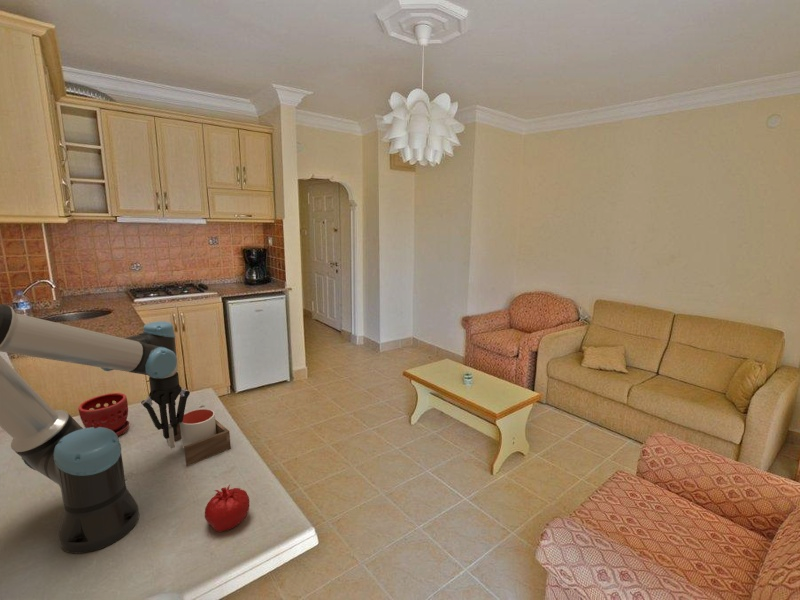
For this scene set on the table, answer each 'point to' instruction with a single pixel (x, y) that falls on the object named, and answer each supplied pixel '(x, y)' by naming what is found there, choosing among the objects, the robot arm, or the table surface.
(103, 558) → the table surface
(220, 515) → the pomegranate
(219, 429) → the box
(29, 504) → the table surface
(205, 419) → the cup
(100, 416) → the plant pot
